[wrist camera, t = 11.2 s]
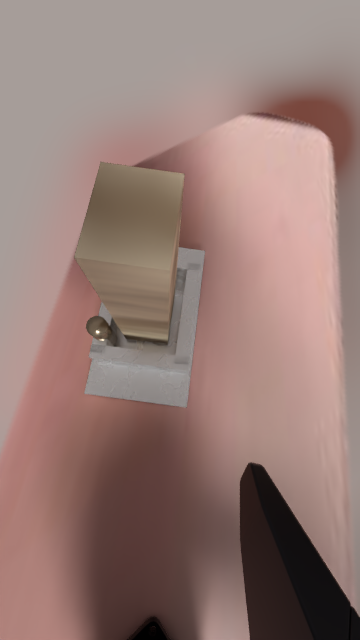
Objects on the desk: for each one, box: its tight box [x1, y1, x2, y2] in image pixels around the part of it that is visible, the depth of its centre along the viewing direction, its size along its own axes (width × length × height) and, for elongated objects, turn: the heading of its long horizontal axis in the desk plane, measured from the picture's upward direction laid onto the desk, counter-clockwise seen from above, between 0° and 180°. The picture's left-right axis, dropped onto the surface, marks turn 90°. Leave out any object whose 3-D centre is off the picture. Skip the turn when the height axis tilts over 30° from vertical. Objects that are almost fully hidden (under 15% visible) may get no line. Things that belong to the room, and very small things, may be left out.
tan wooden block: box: [74, 162, 185, 344], centre depth 17 cm, size 4×4×13 cm
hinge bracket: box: [84, 247, 205, 408], centre depth 21 cm, size 14×8×5 cm, turn 173°
